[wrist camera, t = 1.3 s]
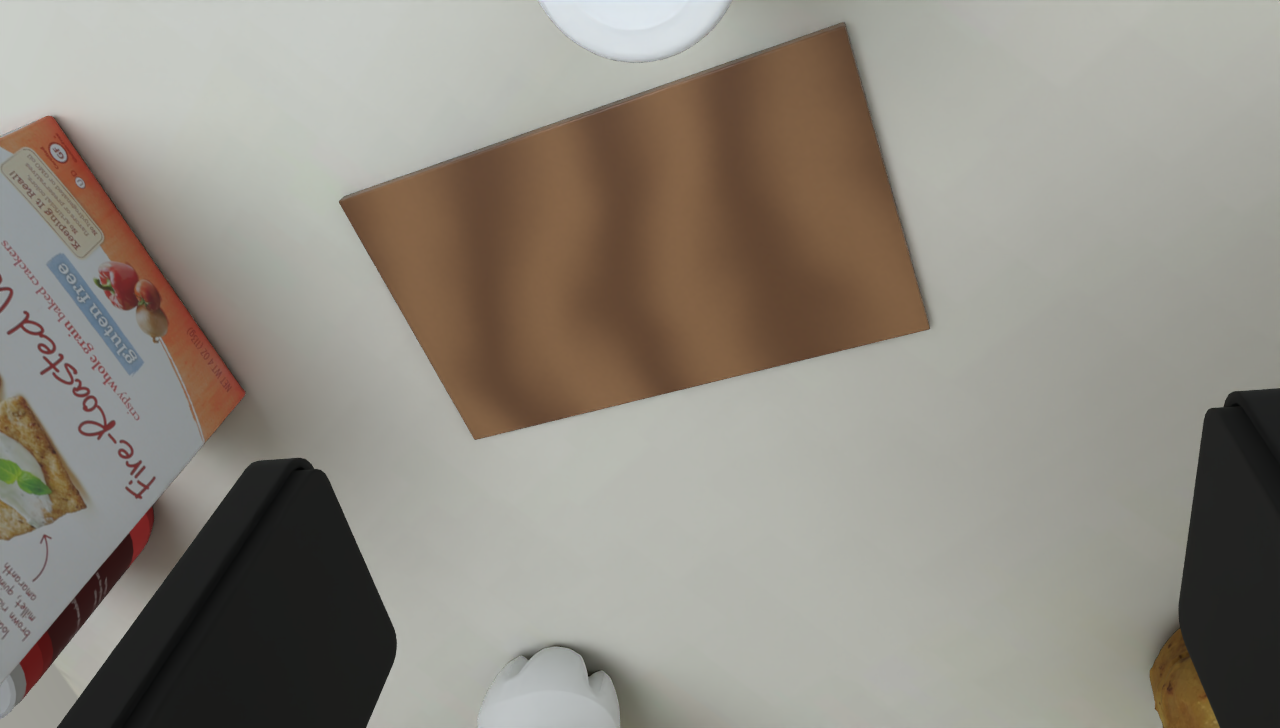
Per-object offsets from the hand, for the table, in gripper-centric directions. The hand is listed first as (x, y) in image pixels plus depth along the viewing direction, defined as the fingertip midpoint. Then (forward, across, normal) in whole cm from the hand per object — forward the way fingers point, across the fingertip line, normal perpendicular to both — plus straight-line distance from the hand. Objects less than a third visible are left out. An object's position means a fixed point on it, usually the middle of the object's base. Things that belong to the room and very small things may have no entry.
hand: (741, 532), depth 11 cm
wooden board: (+26, +7, +9) cm, 29 cm away
